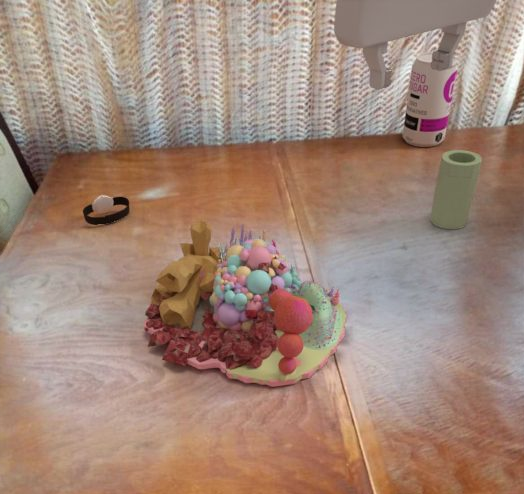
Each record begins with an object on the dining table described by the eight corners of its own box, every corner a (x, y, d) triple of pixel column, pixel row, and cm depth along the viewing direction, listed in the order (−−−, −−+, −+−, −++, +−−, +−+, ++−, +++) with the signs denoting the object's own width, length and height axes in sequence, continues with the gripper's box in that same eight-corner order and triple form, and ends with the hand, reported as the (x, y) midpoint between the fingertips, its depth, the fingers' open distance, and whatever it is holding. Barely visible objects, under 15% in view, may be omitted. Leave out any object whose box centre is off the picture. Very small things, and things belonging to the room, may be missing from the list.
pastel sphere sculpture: (114, 362, 62) (94, 297, 56) (188, 255, 79) (179, 196, 73) (329, 399, 56) (333, 331, 50) (359, 276, 73) (365, 214, 67)
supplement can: (449, 136, 109) (465, 54, 99) (435, 151, 104) (450, 65, 94) (410, 130, 112) (422, 50, 102) (395, 143, 107) (406, 60, 97)
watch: (125, 206, 91) (120, 185, 89) (136, 216, 88) (132, 196, 86) (81, 219, 88) (75, 199, 86) (91, 231, 85) (86, 210, 83)
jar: (465, 213, 85) (479, 150, 79) (468, 230, 81) (483, 166, 75) (429, 211, 86) (440, 149, 79) (430, 228, 82) (442, 164, 75)
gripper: (371, -71, 44) (359, 106, 53) (528, -92, 52) (494, 64, 61) (322, -73, 48) (319, 92, 57) (474, -93, 56) (450, 55, 65)
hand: (410, 77), depth 59 cm, fingers open, 8 cm apart
